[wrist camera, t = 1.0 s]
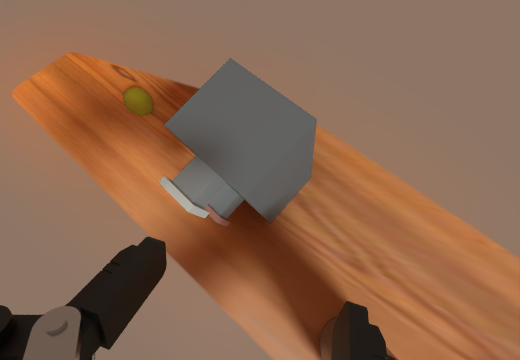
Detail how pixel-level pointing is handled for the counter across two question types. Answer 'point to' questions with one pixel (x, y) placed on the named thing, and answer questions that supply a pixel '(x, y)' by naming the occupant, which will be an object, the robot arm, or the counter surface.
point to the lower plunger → (224, 205)
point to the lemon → (138, 101)
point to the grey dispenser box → (249, 137)
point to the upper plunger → (194, 186)
